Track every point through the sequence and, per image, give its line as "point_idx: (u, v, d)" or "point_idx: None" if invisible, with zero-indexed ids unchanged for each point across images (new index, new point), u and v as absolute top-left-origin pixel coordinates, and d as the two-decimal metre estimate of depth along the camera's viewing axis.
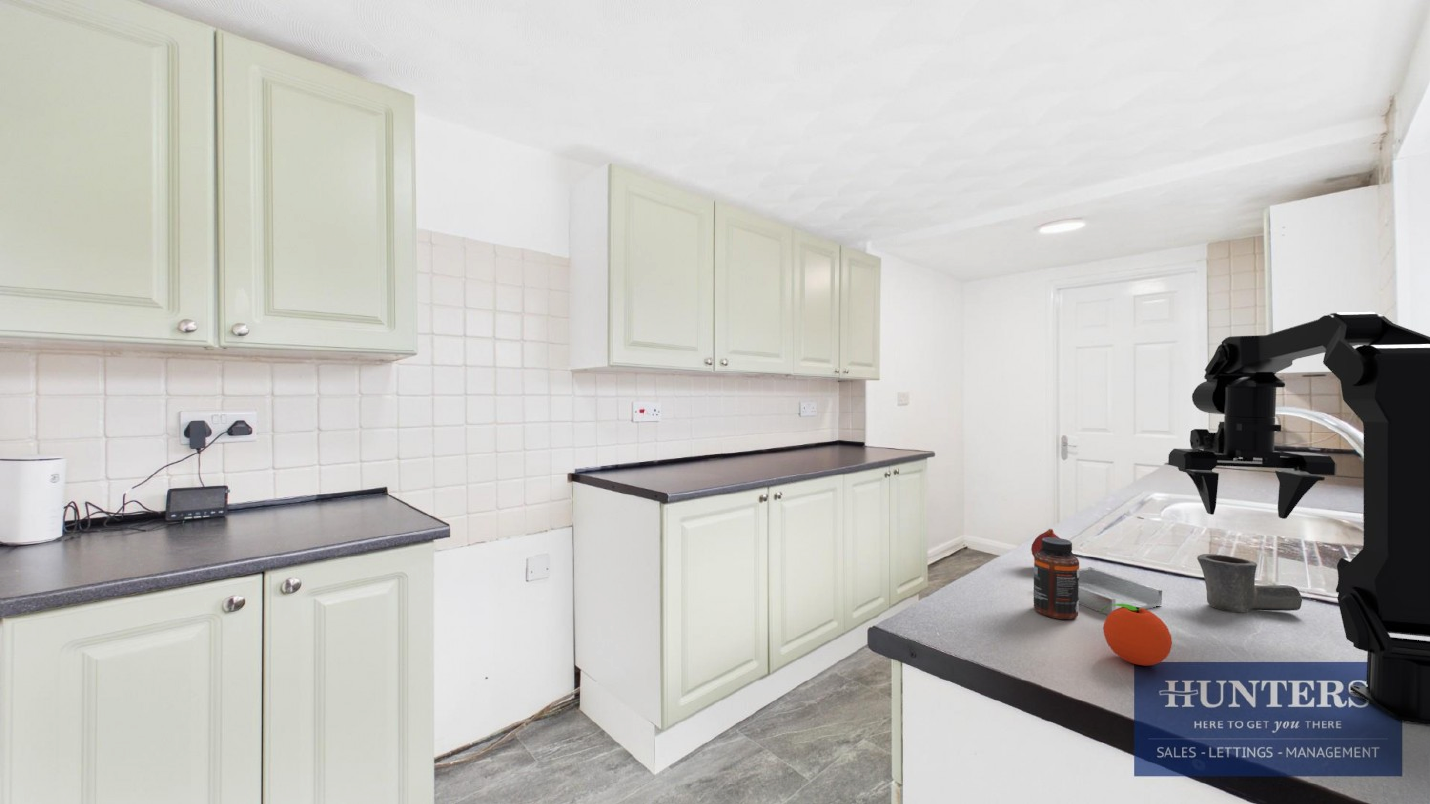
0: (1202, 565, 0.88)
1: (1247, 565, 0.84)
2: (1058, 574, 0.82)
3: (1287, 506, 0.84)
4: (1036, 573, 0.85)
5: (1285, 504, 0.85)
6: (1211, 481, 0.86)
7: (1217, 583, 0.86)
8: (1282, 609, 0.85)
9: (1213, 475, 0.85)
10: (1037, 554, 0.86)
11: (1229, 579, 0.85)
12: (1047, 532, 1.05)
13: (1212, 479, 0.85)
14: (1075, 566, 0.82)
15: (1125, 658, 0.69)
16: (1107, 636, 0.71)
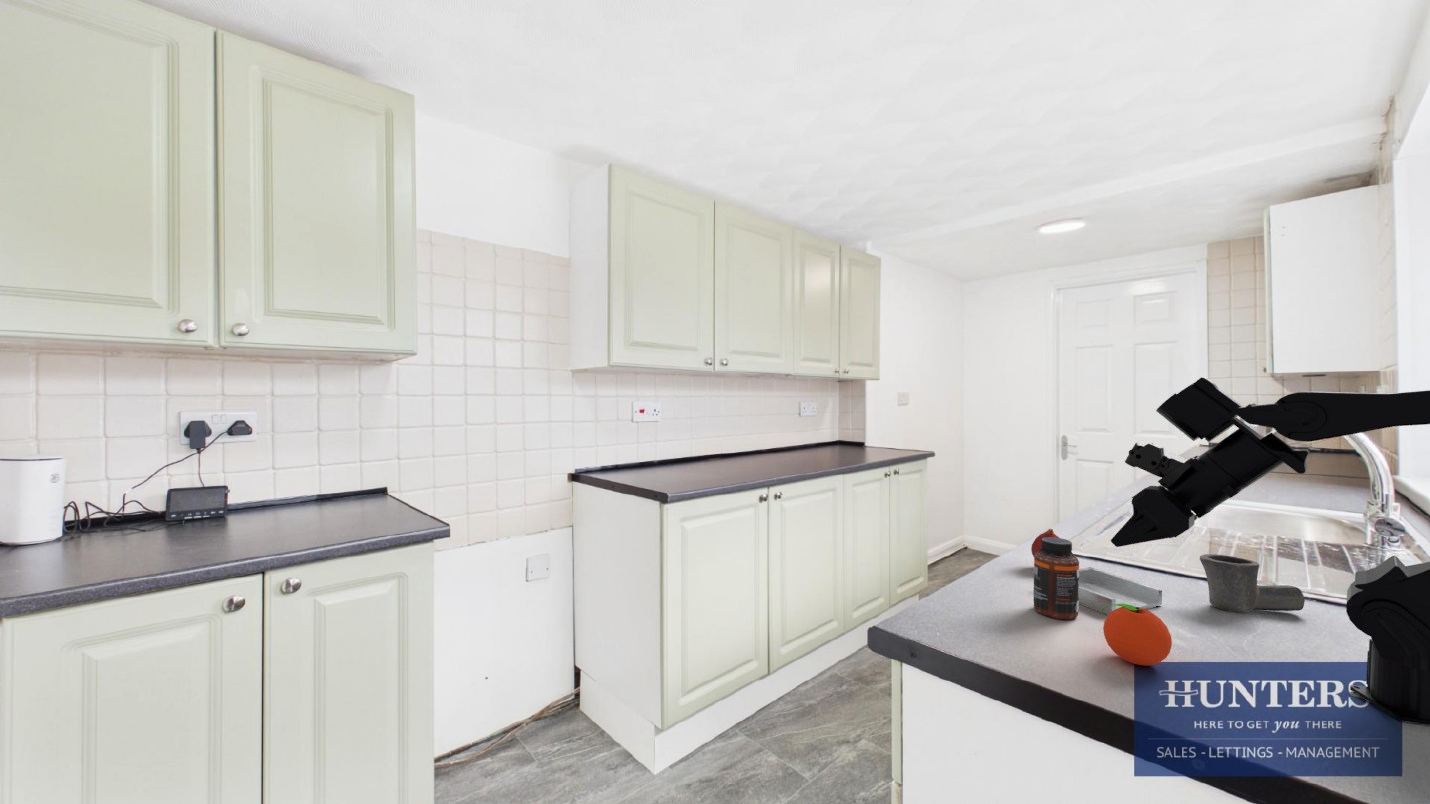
0: (1204, 565, 0.88)
1: (1249, 565, 0.84)
2: (1058, 574, 0.82)
3: None
4: (1036, 573, 0.85)
5: None
6: None
7: (1219, 583, 0.86)
8: (1285, 609, 0.85)
9: None
10: (1037, 554, 0.86)
11: (1231, 579, 0.85)
12: (1047, 532, 1.05)
13: None
14: (1075, 566, 0.82)
15: (1125, 658, 0.69)
16: (1107, 636, 0.71)
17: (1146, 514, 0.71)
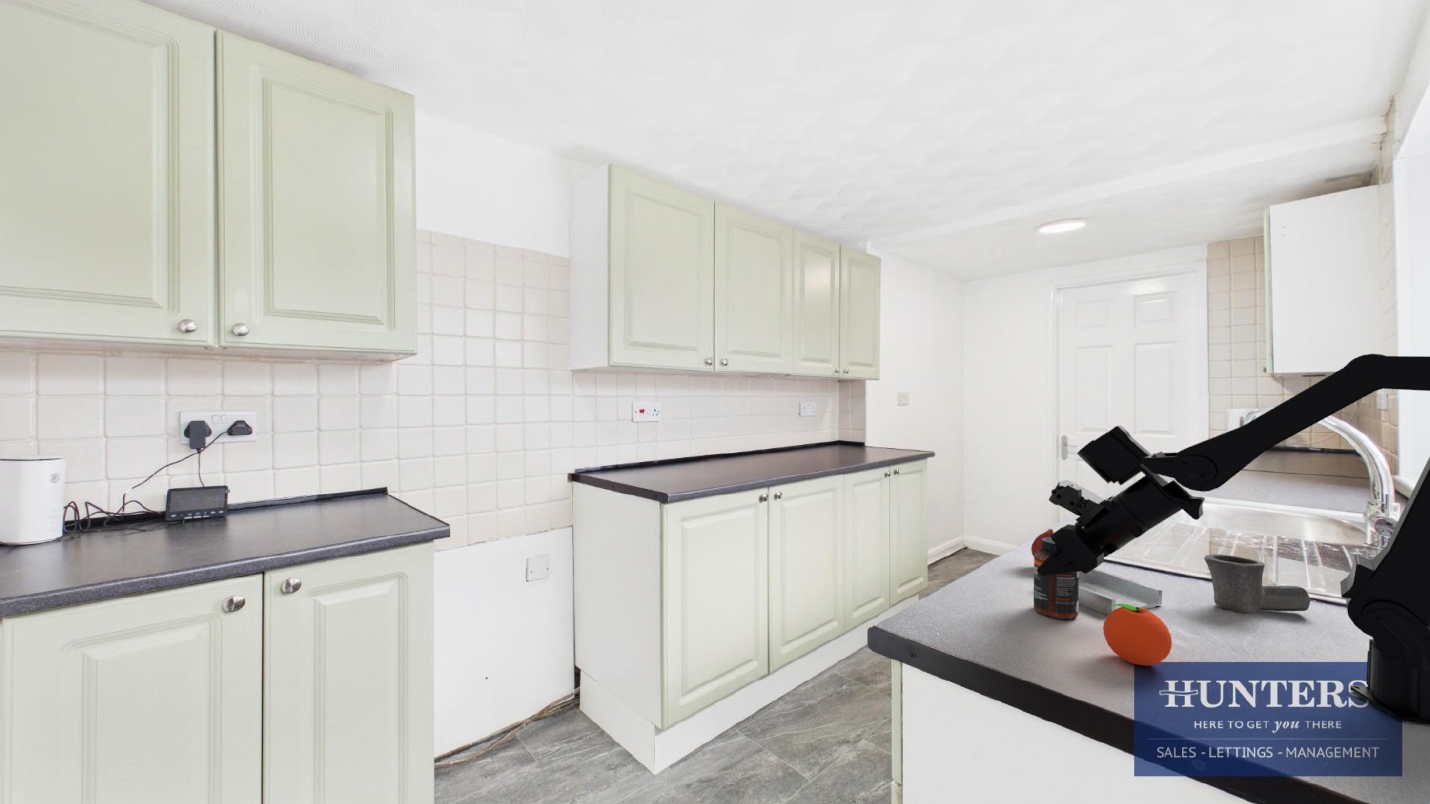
0: (1209, 565, 0.88)
1: (1254, 565, 0.84)
2: (1058, 574, 0.82)
3: None
4: (1036, 573, 0.85)
5: None
6: None
7: (1224, 583, 0.86)
8: (1290, 609, 0.85)
9: None
10: (1037, 554, 0.86)
11: (1236, 579, 0.85)
12: (1047, 532, 1.05)
13: None
14: None
15: (1125, 658, 0.69)
16: (1107, 636, 0.71)
17: None
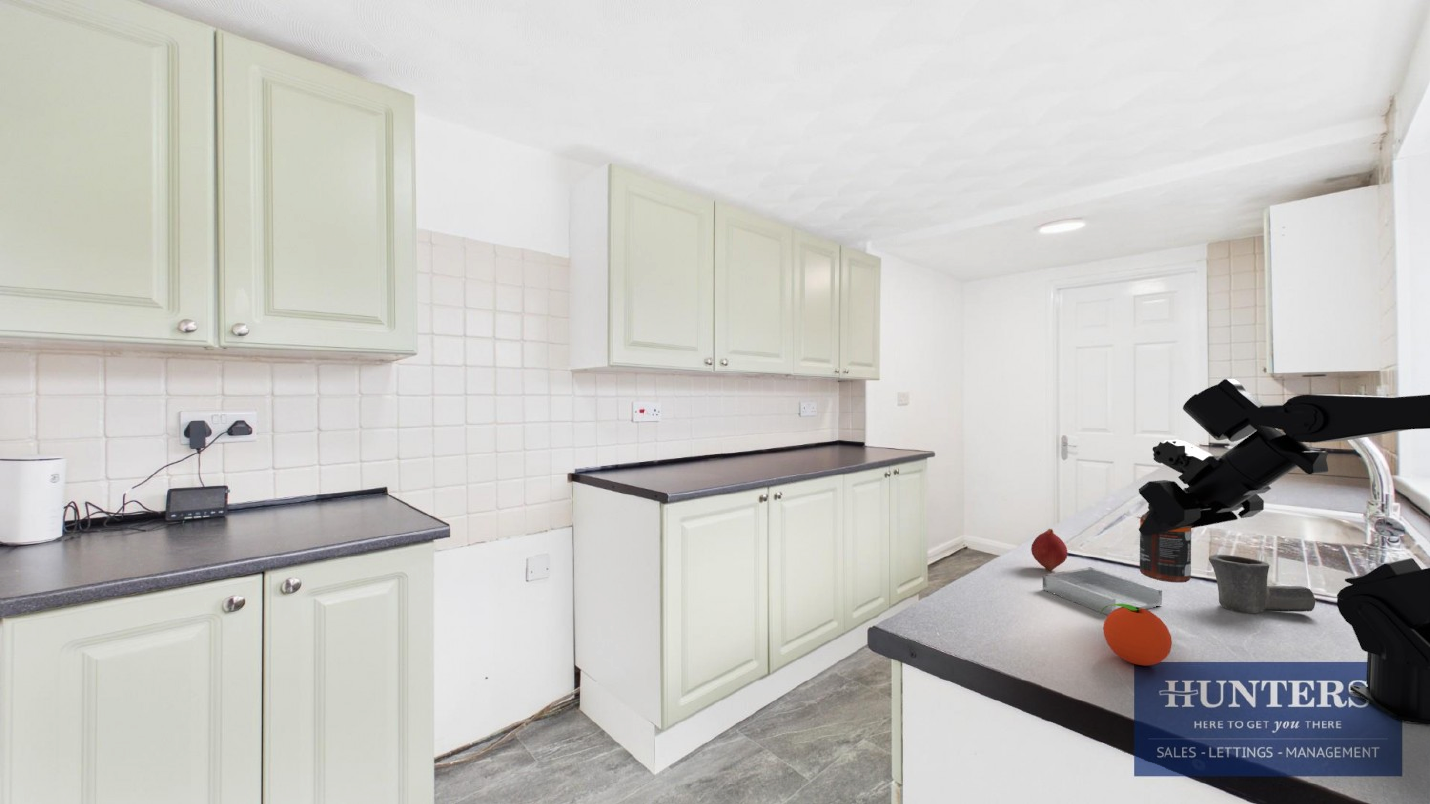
0: (1214, 566, 0.87)
1: (1259, 565, 0.84)
2: (1161, 534, 0.80)
3: None
4: (1140, 534, 0.83)
5: None
6: None
7: (1229, 584, 0.86)
8: (1295, 610, 0.84)
9: (1188, 526, 0.76)
10: (1142, 515, 0.84)
11: (1241, 580, 0.85)
12: (1047, 532, 1.05)
13: (1183, 527, 0.76)
14: (1182, 528, 0.79)
15: (1125, 658, 0.69)
16: (1107, 636, 0.71)
17: None
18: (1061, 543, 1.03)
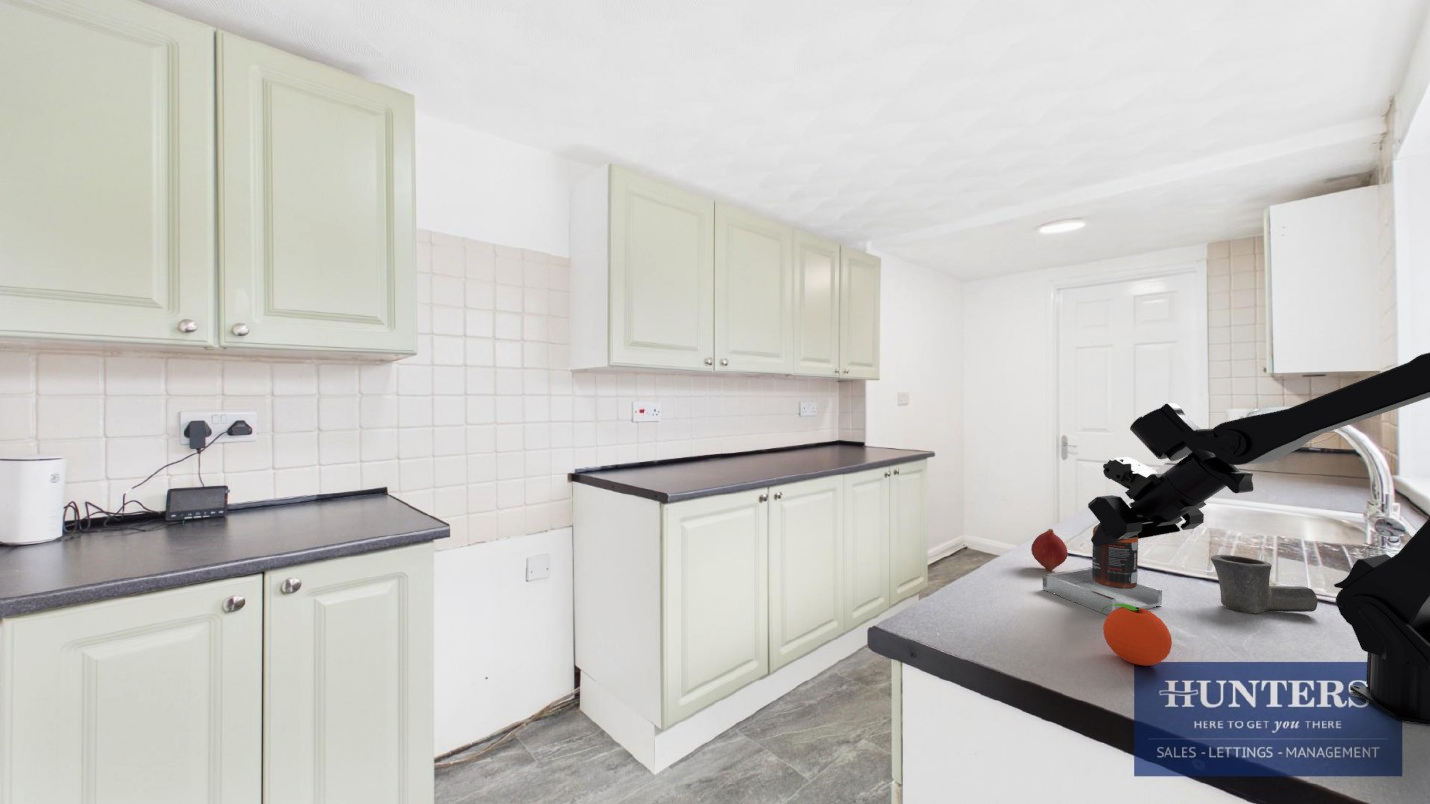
0: (1216, 566, 0.87)
1: (1261, 565, 0.84)
2: (1110, 544, 0.87)
3: None
4: None
5: None
6: (1125, 539, 0.83)
7: (1231, 584, 0.86)
8: (1297, 610, 0.84)
9: (1132, 538, 0.82)
10: (1095, 526, 0.90)
11: (1243, 580, 0.85)
12: (1047, 532, 1.04)
13: None
14: (1129, 539, 0.86)
15: (1125, 658, 0.69)
16: (1107, 636, 0.71)
17: None
18: (1061, 543, 1.03)
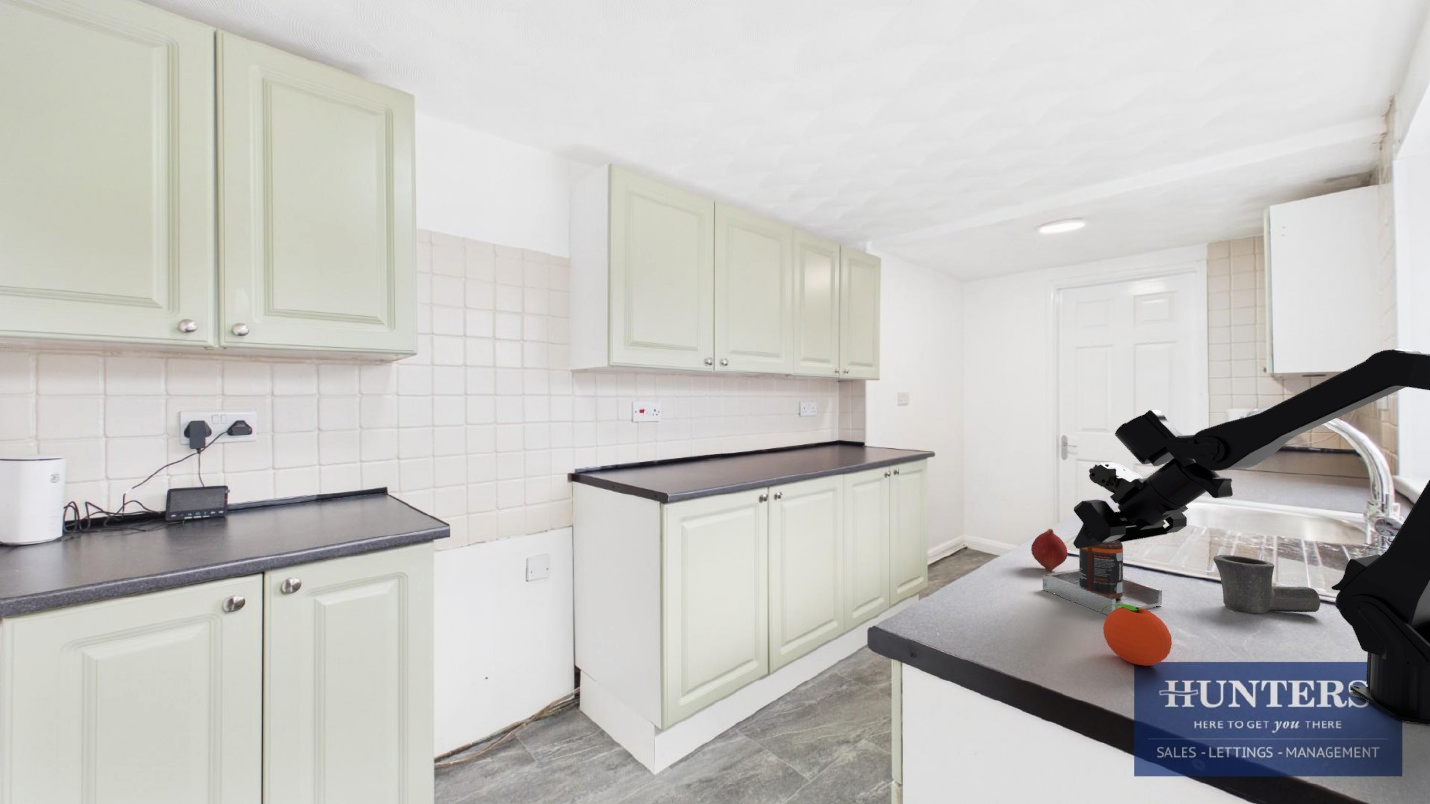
0: (1218, 566, 0.87)
1: (1264, 566, 0.84)
2: (1095, 555, 0.89)
3: (1123, 541, 0.92)
4: (1079, 555, 0.92)
5: (1122, 538, 0.92)
6: None
7: (1233, 584, 0.86)
8: (1300, 610, 0.84)
9: None
10: None
11: (1246, 580, 0.85)
12: (1047, 532, 1.05)
13: None
14: (1113, 550, 0.88)
15: (1125, 658, 0.69)
16: (1107, 636, 0.71)
17: None
18: (1061, 543, 1.03)
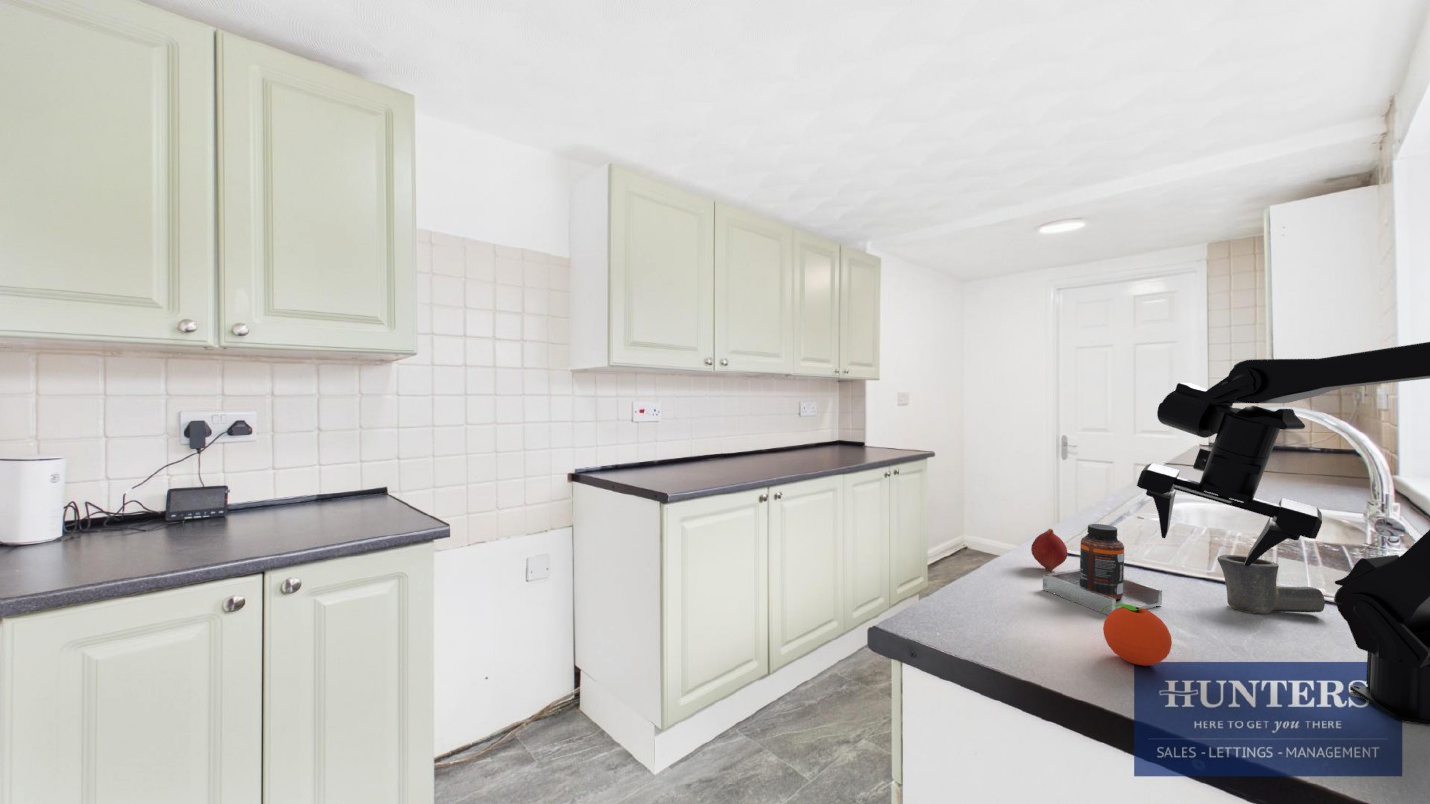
0: (1222, 566, 0.87)
1: (1268, 566, 0.84)
2: (1097, 556, 0.89)
3: (1250, 554, 0.75)
4: (1080, 555, 0.92)
5: (1250, 552, 0.75)
6: (1161, 505, 0.80)
7: (1238, 584, 0.86)
8: (1305, 611, 0.84)
9: (1164, 500, 0.80)
10: (1082, 538, 0.92)
11: (1250, 580, 0.85)
12: (1047, 532, 1.05)
13: (1163, 503, 0.80)
14: (1115, 551, 0.88)
15: (1125, 658, 0.69)
16: (1107, 636, 0.71)
17: None
18: (1061, 543, 1.03)
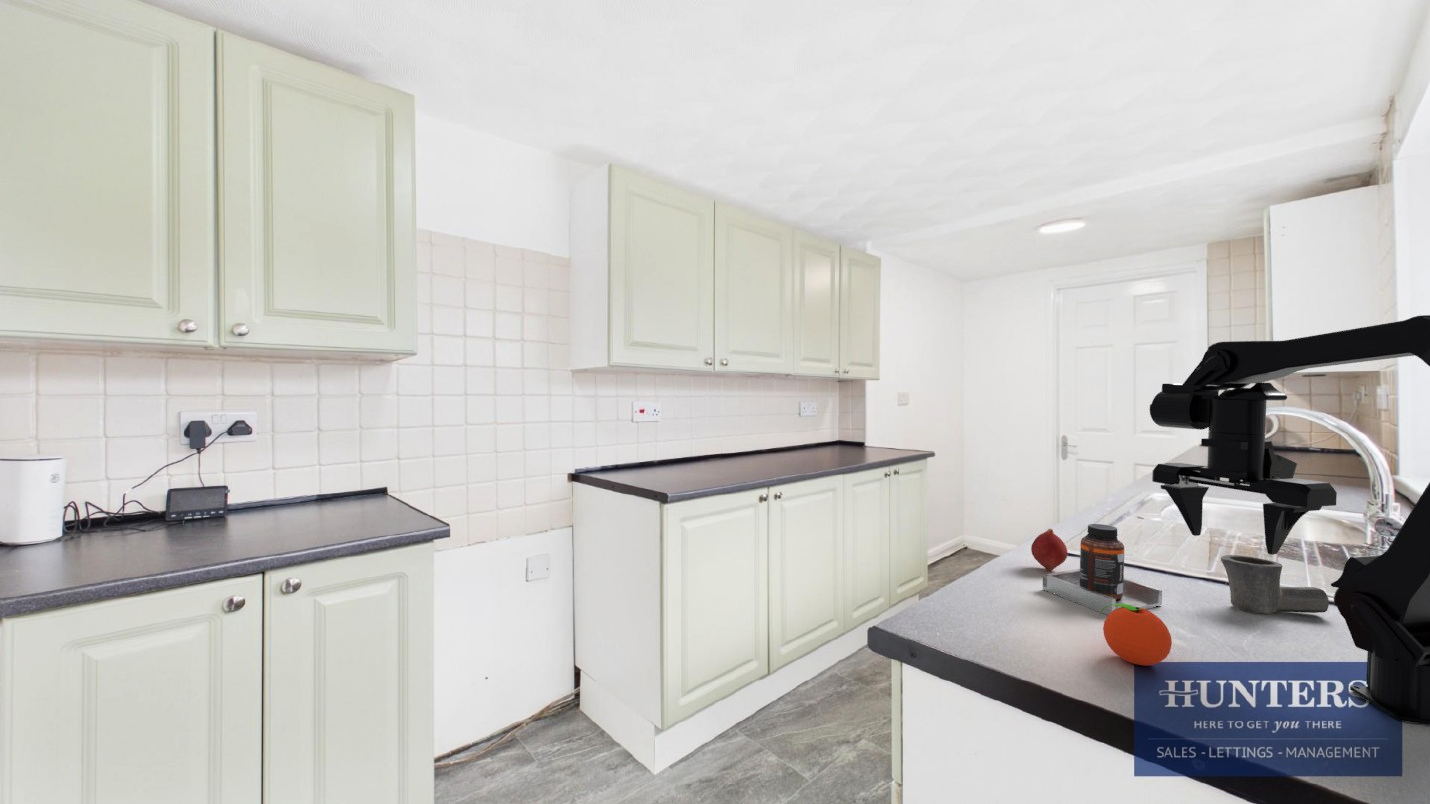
0: (1226, 566, 0.87)
1: (1271, 566, 0.84)
2: (1097, 556, 0.89)
3: (1265, 539, 0.72)
4: (1080, 555, 0.92)
5: None
6: (1175, 496, 0.82)
7: (1241, 584, 0.86)
8: (1308, 611, 0.84)
9: (1174, 490, 0.82)
10: (1082, 538, 0.92)
11: (1253, 580, 0.84)
12: (1047, 532, 1.04)
13: (1175, 494, 0.82)
14: (1115, 551, 0.88)
15: (1125, 658, 0.69)
16: (1107, 636, 0.71)
17: None
18: (1061, 543, 1.03)
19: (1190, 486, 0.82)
